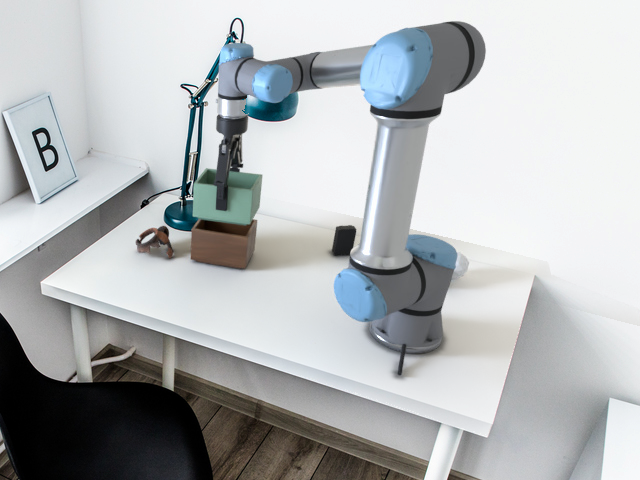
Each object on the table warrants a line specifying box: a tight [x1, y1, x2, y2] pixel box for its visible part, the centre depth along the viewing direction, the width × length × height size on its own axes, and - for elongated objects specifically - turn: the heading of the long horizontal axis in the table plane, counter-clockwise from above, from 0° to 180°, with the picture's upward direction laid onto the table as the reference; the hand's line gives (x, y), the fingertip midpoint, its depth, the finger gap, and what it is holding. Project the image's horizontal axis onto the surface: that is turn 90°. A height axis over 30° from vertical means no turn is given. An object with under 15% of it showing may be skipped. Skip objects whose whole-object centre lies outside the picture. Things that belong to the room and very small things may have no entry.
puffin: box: [451, 251, 470, 280], centre depth 164 cm, size 7×7×12 cm
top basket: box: [192, 167, 263, 226], centre depth 167 cm, size 11×15×10 cm
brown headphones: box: [135, 225, 174, 259], centre depth 180 cm, size 12×10×8 cm
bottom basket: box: [190, 218, 258, 270], centre depth 175 cm, size 11×15×10 cm
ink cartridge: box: [331, 224, 357, 257], centre depth 176 cm, size 5×2×8 cm, turn 93°
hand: (227, 200), depth 168 cm, fingers closed on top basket, 11 cm apart
